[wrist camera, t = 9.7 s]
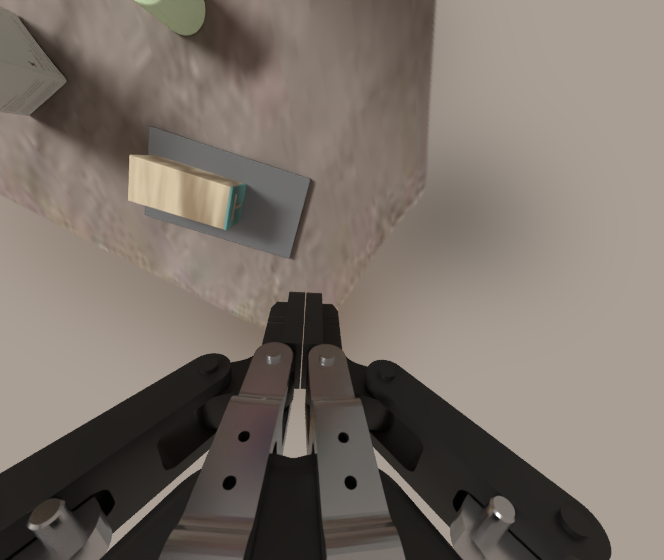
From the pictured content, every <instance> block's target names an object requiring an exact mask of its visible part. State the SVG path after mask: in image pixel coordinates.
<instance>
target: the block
mask: <svg viewBox="0 0 664 560" xmlns="http://www.w3.org/2000/svg"><path fill="white" fill-rule="evenodd" d="M246 185H247V184H245V183H241V182H238V181H235V180H232V179H229V178H226V177H223V176H220V175H217V174H213V173H210V172H207V171H204V170H201V169H198V168H195V167H192V166H189V165H185V164H182V163H179V162H176V161H173V160H170V159H167V158H164V157H161V156H157V155H130V157H129V190H128V200H129V201H132V202H135V203H139V204H142V205H145V206H148V207H152V208H155V209H158V210H162V211H165V212H168V213H171V214H175V215H178V216H181V217H184V218H188V219H191V220H194V221H198V222H201V223H204V224H207V225H211V226H214V227H217V228H221V229H224V230H227V229H229V228H230V227H232V226H234V225H235V224H237V223H239V222H240V218H241V213H242V207H243V202H244V196H245V191H246Z"/></svg>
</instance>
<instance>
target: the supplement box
mask: <svg viewBox="0 0 664 560" xmlns="http://www.w3.org/2000/svg"><path fill="white" fill-rule="evenodd" d="M66 82H67V80H66V79H65V78H64V76H63V75H62V74H61V73H60V72H59V70H58V69H57V68H56V67H55V65H54V64H53V63H52V62H51V60H50V59H49V58H48V57H47V55H46V54H45V53H44V51H43V50H42V49H41V47H40V46H39V45H38V43H37V42H36V41H35V40H34V38H33V37H32V36H31V34H30V33H29V32H28V30H27V29H26V27H25V26H24V25H23V23H22V22H21V21H20V19H19V18H18V16H17V15H16V14H15V13H13V12H11V11H9V10H6V9H4V8H2V7H0V112H6V113H13V114H20V115H27V116H29V115H30V114H32V113H33V112H34V111H35V110H36V109H37V108H38V107H39V106H41V105H42V104H43V103H44V102H45V101H46V100H47V99H49V98H50V97H51V96H52V95H53V94H54V93H55V92H56V91H57V90H59V89H60V88H61V87H62V86H63V85H64V84H65V83H66Z"/></svg>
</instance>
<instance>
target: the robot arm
mask: <svg viewBox="0 0 664 560" xmlns="http://www.w3.org/2000/svg"><path fill="white" fill-rule="evenodd" d="M304 306H305V292H289V298H288V302H277V303H276V304H275V305H274V306H273V307H272V308H271V311H270V315H269V319H268V323H267V327H266V331H265V335H264V339H263V343H262V346H260V347H259V348H258V349H257V350H256V351H255V353H254V356H252V357H250V358H248V359H245V360H241V361H237V362H231V363H230V360H229V359H228V358H227V357H226V356H224V355H222V354H216V353H213V354H206V355H203V356H200V357H198V358H196V359H195V360H193V361H191V362H189V363H188V364H186V365H184V366H183V367H181V368H179V369H178V370H176V371H174V372H172V373H171V374H169V375H167V376H166V377H164V378H162V379H160V380H159V381H157V382H155V383H154V384H152V385H150V386H149V387H147V388H145V389H143V390H142V391H140V392H138V393H137V394H135V395H133V396H131V397H130V398H128V399H126V400H125V401H123V402H121V403H120V404H118V405H116V406H114V407H113V408H111V409H109V410H108V411H106V412H104V413H103V414H101V415H99V416H97V417H96V418H94V419H92V420H91V421H89V422H87V423H86V424H84V425H82V426H80V427H79V428H77V429H75V430H74V431H72V432H70V433H68V434H67V435H65V436H63V437H62V438H60V439H58V440H56V441H55V442H53V443H52V444H50V445H48V446H46V447H45V448H43V449H41V450H39V451H38V452H36V453H34V454H33V455H31V456H29V457H27V458H26V459H24V460H23V461H21V462H19V463H17V464H16V465H14V466H12V467H11V468H9V469H7V470H5V471H4V472H2V473H0V560H609V559H610V557H611V546H610V541H609V539H608V536H607V534H606V532H605V530H604V529H603V527H602V526H601V524H600V523H599V521H598V520H597V519H596V518H595V517H594V515H593V514H592V513H591V512H590V511H589V510H588V509H587V508H586V507H585V506H583V505H582V504H581V503H580V502H578V501H577V500H576V499H575V498H573V497H572V496H571V495H569V494H568V493H567V492H565V491H564V490H562V489H561V488H560V487H559V486H557V485H556V484H555V483H553V482H552V481H551V480H549V479H548V478H546V477H545V476H544V475H543V474H541V473H540V472H539V471H537V470H536V469H535V468H534V467H532V466H531V465H530V464H528V463H527V462H526V461H524V460H523V459H521V458H520V457H519V456H518V455H516V454H515V453H514V452H512V451H511V450H510V449H508V448H507V447H506V446H504V445H503V444H502V443H500V442H499V441H498V440H496V439H495V438H494V437H493V436H491V435H490V434H488V433H487V432H486V431H485V430H483V429H482V428H481V427H479V426H478V425H477V424H475V423H474V422H473V421H471V420H470V419H469V418H467V417H466V416H465V415H463V414H462V413H461V412H459V411H458V410H457V409H455V408H454V407H453V406H452V405H450V404H449V403H448V402H446V401H445V400H443V399H442V398H441V397H440V396H438V395H437V394H436V393H434V392H433V391H432V390H430V389H429V388H427V387H426V386H425V385H424V384H422V383H421V382H420V381H418V380H417V379H416V378H414V377H413V376H412V375H411V374H409V373H408V372H406V371H405V370H404V369H403V368H401V367H400V366H399V365H397V364H395V363H393V362H391V361H387V360H377V361H374V362H372V363H371V364H370V365H369V366H368V367H367V366H363V365H360V364H357V363H354V362H352V361H351V360H349V359H348V358H347V357H346V356H345V354H344V352H343V351H342V345H341V336H340V327H339V317H338V311H337V309H336V308H335V307H334V306H333V304H322V293H307V294H306V310H305V326H304V342H303V360H302V378H301V389H306V398H305V420H306V445H307V455H306V456H302V457H298V458H289V457H286V456H283V450H284V444H285V439H286V433H287V427H288V422H289V416H290V411H291V402H292V400H293V394H294V388H295V389H299V384H300V369H301V354H302V340H303V324H304ZM373 447H374V448H375V449H376V450H377V451H378V452H379V453H380V454H381V455H382V456H383V457H384V459H385V460H386V461H387V462H388V463H389V464H390V465H391V466H392V467H393V468H394V469H395V470H396V471H397V472H398V473H399V474H400V475H401V477H402V478H403V479H404V480H405V481H406V482H407V483H408V484H409V485H410V486H411V487H412V488H413V489H414V490H415V491H416V492H417V493H418V494H419V496H421V498H422V499H423V500H424V501H425V502H426V503H427V504H428V505H429V506H430V507H431V508H432V509H433V510H434V511H435V513H436V514H437V515H438V516H439V517H440V518H441V519H442V520H443V521H444V522H445V523H446V524H447V525H448V526H449V527H450V536H451V541H452V544H453V547H454V549H455V550H454V549H453V547H452V546H451V545H450V544H449V543H448V542H447V541H446V540H445V538H444V537H443V536H442V535H441V534H440V532H439V531H438V530H437V529H436V528H435V527H434V525H433V524H432V523H431V522H430V521H429V520H428V519H427V517H426V516H425V515H424V514H423V513H422V512H421V511H420V509H419V508H418V507H417V506H416V505H415V503H414V502H413V501H412V500H411V499H410V498H409V497H408V495H407V494H406V493H405V492H404V491H403V490H402V488H401V487H400V486H399V485H398V484H397V483H396V482H395V481H394V480H393V479H392V478H391V477H390V476H389V475H387V474H386V473H385V472H383V471H381V470H380V469H378V466H377V462H376V458H375V454H374V450H373ZM208 450H209V452H208V454H207V457H206V459H205V462H204V464H203V467H202V469H200V470H198V471H197V472H195V473H194V474H192V475H190V476H189V477H188V478H187V479H186V480H184V481H183V482H181V483H180V484H179V485H178V486H177V487H176V488H175V489H174V490H173V491H172V492H171V493H169V495H167V496H166V497H165V498H164V499H163V500H162V501H161V502H160V503H159V504H158V505H157V506H156V507H155V508H154V509H153V510H152V511H150V512H149V513H148V514H147V515H146V516H145V517H144V518H143V519H142V520H141V521H140V522H139V523H138V524H137V525H136V526H134V527H133V528H132V529H131V530H130V531H129V532H128V533H127V534H126V535H125V536H124V537H123V538H122V539H121V540H120V541H118V542H117V544H115V545H114V546H113V547H112V548H111V549H110V550H109V551H108V552H107V553H106V551H107V550H108V548H109V544H110V542H111V538H112V534H113V533H114V532H115V531H116V530H117V529H118V528H119V527H120V526H122V525H123V524H124V523H125V522H126V521H127V520H129V519H130V518H131V517H132V516H133V515H134V514H135V513H137V512H138V511H139V510H140V509H141V508H142V507H143V506H145V505H146V504H147V503H148V502H149V501H150V500H151V499H153V498H154V497H155V496H156V495H157V494H158V493H160V492H161V491H162V490H163V489H164V488H165V487H166V486H168V485H169V484H170V483H171V482H172V481H173V480H174V479H176V478H177V477H178V476H179V475H180V474H181V473H182V472H184V471H185V470H186V469H187V468H188V467H189V466H191V465H192V464H193V463H194V462H195V461H196V460H197V459H199V458H200V457H201V456H202V455H203V454H204V453H205V452H207V451H208Z"/></svg>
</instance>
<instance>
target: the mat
mask: <svg viewBox="0 0 664 560" xmlns="http://www.w3.org/2000/svg"><path fill="white" fill-rule="evenodd" d="M148 155H157V156H161V157H164V158H167V159H170V160H173V161H176V162H179V163H182V164H185V165H189V166H192V167H195V168H198V169H201V170H204V171H207V172H210V173H213V174H217V175H220V176H223V177H226V178H229V179H232V180H235V181H238V182H241V183H245V184H247V185H246V191H245V196H244V202H243V207H242V213H241V218H240V222H239V223H237V224H235V225H234V226H232V227H230V228H229V229H227V230H224V229H221V228H217V227H214V226H211V225H207V224H204V223H201V222H198V221H194V220H191V219H188V218H184V217H181V216H178V215H175V214H171V213H168V212H165V211H162V210H158V209H155V208H152V207H148V206H145V215H147V216H150V217H153V218H157V219H160V220H163V221H166V222H170V223H173V224H176V225H180V226H183V227H186V228H190V229H193V230H196V231H200V232H203V233H206V234H209V235H213V236H216V237H219V238H223V239H226V240H229V241H233V242H236V243H239V244H243V245H246V246H249V247H252V248H256V249H259V250H262V251H266V252H269V253H272V254H276V255H279V256H282V257H286V258H290V255H291V251H292V247H293V244H294V240H295V236H296V232H297V229H298V225H299V221H300V217H301V214H302V210H303V206H304V202H305V199H306V195H307V191H308V187H309V184H310V180H311V179H310V178H306V177H303V176H300V175H297V174H294V173H291V172H288V171H285V170H282V169H279V168H276V167H273V166H270V165H267V164H264V163H261V162H258V161H255V160H252V159H249V158H246V157H243V156H240V155H237V154H234V153H231V152H228V151H225V150H221V149H218V148H215V147H212V146H209V145H206V144H203V143H200V142H197V141H194V140H191V139H188V138H185V137H182V136H179V135H176V134H173V133H170V132H167V131H164V130H161V129H158V128H155V127H151V126H149V141H148Z"/></svg>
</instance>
